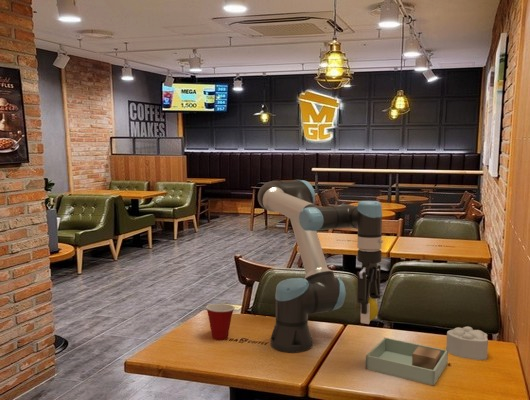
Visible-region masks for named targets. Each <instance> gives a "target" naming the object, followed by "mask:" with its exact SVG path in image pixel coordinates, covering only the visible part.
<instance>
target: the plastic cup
mask: <svg viewBox="0 0 530 400" xmlns="http://www.w3.org/2000/svg"><path fill="white" fill-rule="evenodd" d="M205 309H206V311H207V315H208V320H209V322H208V323H209V327H210V332H211V337H212V338H213V340H215V341H216V340H217V341H223V340H226V339H228V337H229V332H230V328H231V322H232V316H233V313H234V310H235V306H234V305H231V304H227V303H212V304H207V305H206V307H205Z"/></svg>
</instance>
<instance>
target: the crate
mask: <svg viewBox="0 0 530 400" xmlns="http://www.w3.org/2000/svg"><path fill="white" fill-rule="evenodd" d="M418 346H420V347H424V348H429V349H434V350H439V351H441V356H440V360H439V362H438V363H437V365H436V366H435V368H434V369H433V370H430V369H426V368H421V367H417V366H413V365H412V354H413V352H414V351H415V350H416V349H417V347H418ZM448 357H449V352H448V350H446V349H441V348H438V347H432V346H428V345H423V344H419V343H418V344H417V343H413V342H410V341H409V342H408V341H405V340H404V341H403V340H399V339H394V338H389V337H383V338H382V339H381V340H380V341H379V342H378V343H377V344H376V345H375V346H374V347H373V348H372V349H371V350H370V351H369V352H368V353H367V354H366V355H365V370H369V371H372V372H377V373H380V374H385V375H389V376H392V377H397V378H401V379H405V380H409V381H413V382H417V383H421V384H425V385H429V386H435V385H436V383H437V381H438V380H439V378H440V376H441V375H442V373H443V372H444V371H445V369H446V367H447V365H448V361H449V360H448Z"/></svg>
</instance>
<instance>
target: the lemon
mask: <svg viewBox="0 0 530 400" xmlns="http://www.w3.org/2000/svg"><path fill="white" fill-rule="evenodd" d="M368 303H370V322H371V321H372V320H375V319H374V318H376V316H377V317H378V314H379V306H378V302H377V303H376V301H375V300H374V299H372V298H371V297H370V296H369V301H368Z"/></svg>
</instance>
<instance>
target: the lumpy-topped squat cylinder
mask: <svg viewBox="0 0 530 400" xmlns="http://www.w3.org/2000/svg"><path fill="white" fill-rule="evenodd" d="M488 343H489V339H488V334H487V333H485V332H484V331H482V330H480V329H473V327H471V326H463V327H455V328H453V329H450V330H447V332H446V347H445V350H448V354H451V355H453V356H455V357H459V358H462V359H468V360H475V361H485V360H488V350H489V348H488V346H489V344H488Z"/></svg>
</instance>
